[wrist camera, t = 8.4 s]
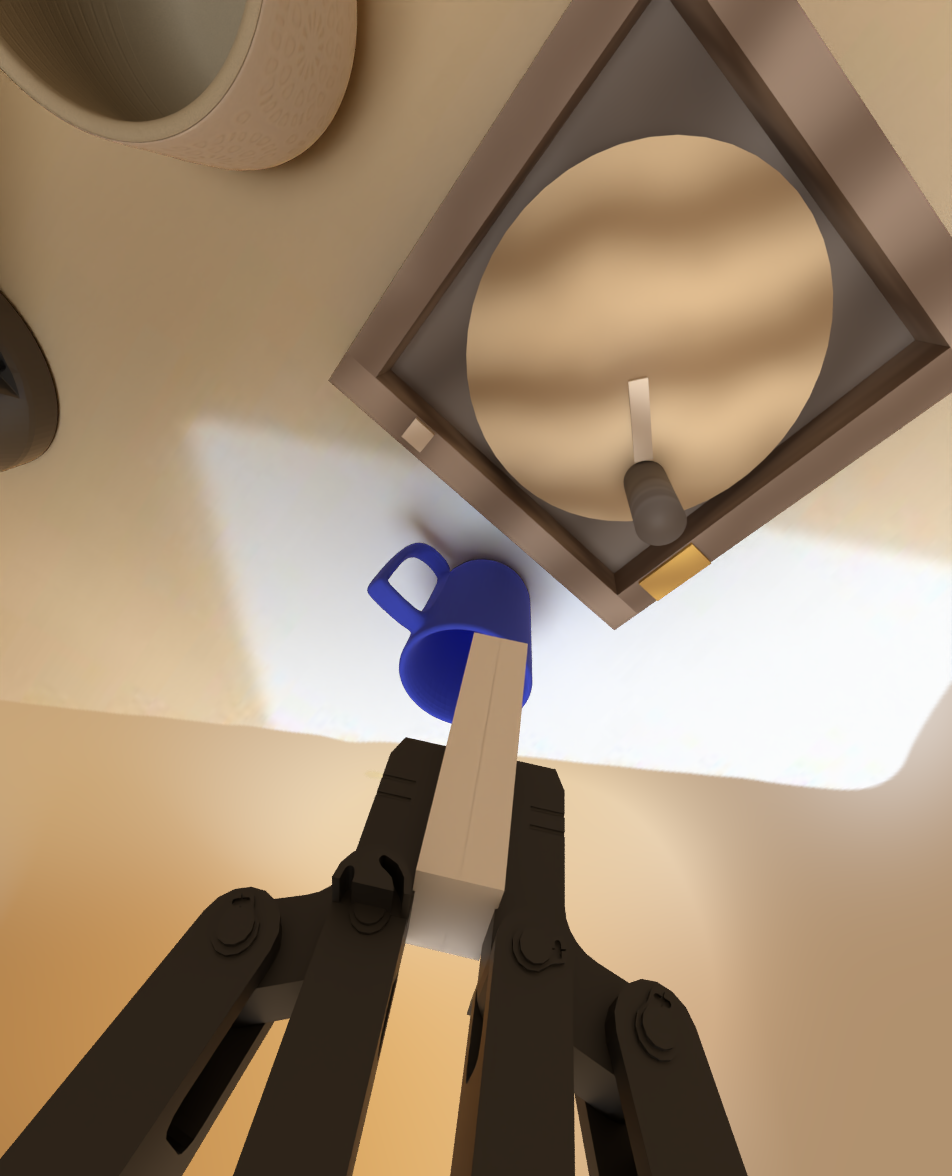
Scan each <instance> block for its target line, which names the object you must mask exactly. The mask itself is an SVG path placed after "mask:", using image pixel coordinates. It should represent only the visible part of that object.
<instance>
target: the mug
mask: <svg viewBox="0 0 952 1176" xmlns="http://www.w3.org/2000/svg"><path fill="white" fill-rule="evenodd" d="M410 557H415V558H418V559H420V560H422V561H423V562H425V563H426V564H427V565H428V566H429V567H430V568H431V569H432V570H433V572H434V573H435V574H436V576H437V584H436V586H435V588H434V590H433V592H432V594H431V596H430V598H429V600H428V602H427V604H426V605H425V607H424V609H423V610H422V611H419V610H417V609H416V608H414V607H413V606H412V605H411V604H410V603H409V602H408V601H406V600H405V599H404V598H403V597H402V596H401V595H400V594H399V593H398V592H397V591H396V590H395V589H394V588H393V587H392V586H391V585H390V583H389V582H388V579H389V578H390V576H391V575H392V574H393V572H394V571H395V570H396V569H397V567H398V566H399V565H400V564H401V563H402V562H403V561H404V560H406V559H407V558H410ZM367 591H368V594H369V595H370V596H371V597H372V599H373V600H374V601H375V602H376V603H377V604H378V605H379V606H380V607H381V608H382V609H383V610H385V611H386V612H387V613H388V614H389V615H390V616H391V617H392V618H394V619H395V620H396V621H397V622H398V623H400V624H401V625H402V626H404V627H405V628H407V629H408V630H409V631H410V632H411V635H410V637H409V639H408V641H407V643H406V645H405V647H404V649H403V651H402V654H401V657H400V662H399V673H400V678H401V681H402V684H403V686H404V688H405V690H406V692H407V693H408V695H409V696H410V698H411V699H412V700H413V701H414V702H415V703H416V704H417V705H418V706H419V707H420V708H421V709H423V710H424V711H426V712H427V713H429V714H430V715H432V716H434V717H436V718H438V719H440V720H443V721H445V722H448V723H451V724H452V721H453V717H454V713H455V709H456V705H457V701H458V697H459V692H460V688H461V684H462V680H463V676H464V672H465V668H466V664H467V660H468V656H469V652H470V648H471V643H472V639H473V635H474V632H475V633H480V634H484V635H489V636H494V637H498V638H503V639H508V640H512V641H517V642H522V643H526V644H528V648H527V658H526V669H525V679H524V690H523V700H522V707H523V706H524V705H525V703H526V702H527V700H528V698H529V696H530V693H531V688H532V650H531V611H530V598H529V594H528V590H527V588H526V586H525V584H524V582H523V581H522V579H521V578H520V576H519V575H518V574H517V573H516V572H515V571H513V570H512V569H511V568H509V567H508V566H506V565H504V564H502V563H499V562H496V561H493V560H486V559H477V560H471V561H468V562H465V563H463V564H461V565H459V566H457V567H456V568H454V569H453V570H452V571H451V572H450V568H449V565H448V563H447V562H446V560H445V559H444V558H443V557H442V556H441V554H440V553H439V552H437V551H436V550H435V549H434V548H432V547H431V546H429V545H427V544H424V543H414V544H411V545H409V546H407V547H405V548H404V549H402V550H401V551H400V552H398V553H397V554H396V555H395V556H394V557H393V558H391V559H390V560H389V562H388V563H387V564H386V565H385V566H384V567H383V568H382V569H381V570H380V572H379V573H378V574H377V575H376V576H375V578H374V579H373V580H372V581H371V583H370V584H369V586H368V589H367Z"/></svg>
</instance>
